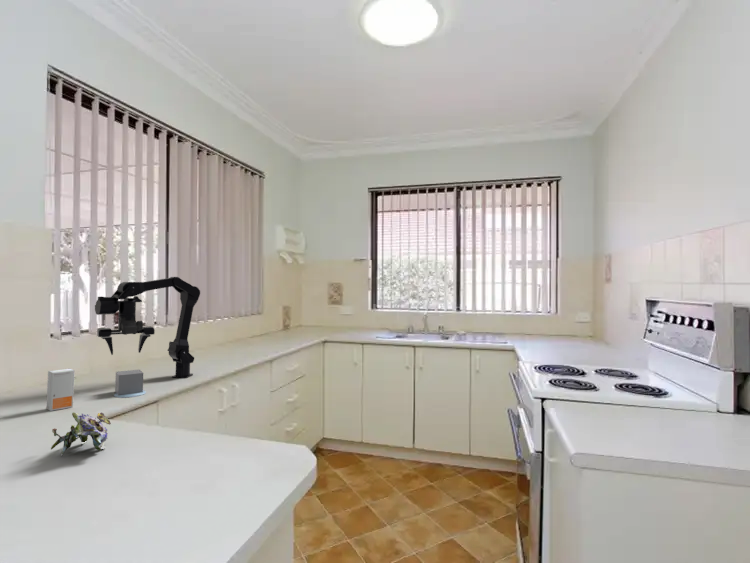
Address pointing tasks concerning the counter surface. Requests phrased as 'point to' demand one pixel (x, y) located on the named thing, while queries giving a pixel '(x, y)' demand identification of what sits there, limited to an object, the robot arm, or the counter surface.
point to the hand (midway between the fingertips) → (125, 353)
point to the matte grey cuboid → (129, 382)
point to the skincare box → (60, 389)
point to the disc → (129, 395)
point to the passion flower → (85, 431)
